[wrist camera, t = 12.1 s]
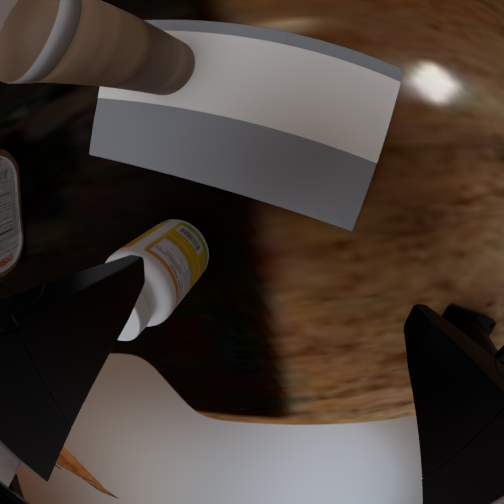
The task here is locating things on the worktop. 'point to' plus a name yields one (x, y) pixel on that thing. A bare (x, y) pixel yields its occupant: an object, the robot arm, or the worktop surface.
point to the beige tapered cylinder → (90, 48)
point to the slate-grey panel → (260, 119)
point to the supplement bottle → (164, 271)
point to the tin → (10, 213)
